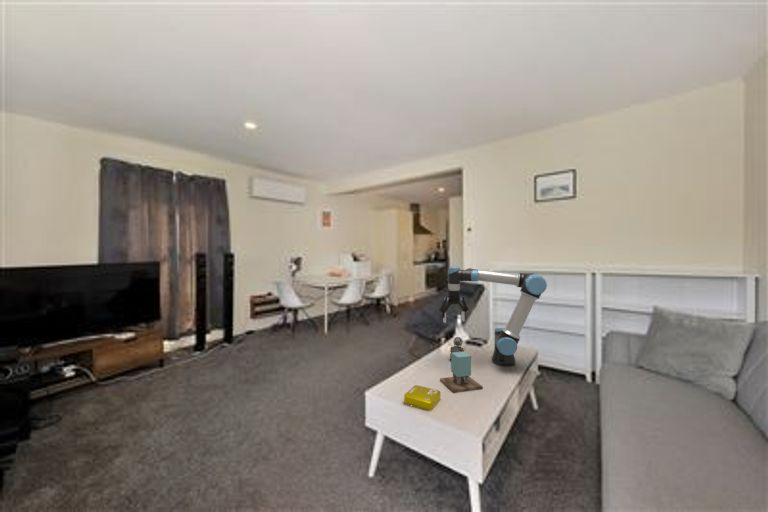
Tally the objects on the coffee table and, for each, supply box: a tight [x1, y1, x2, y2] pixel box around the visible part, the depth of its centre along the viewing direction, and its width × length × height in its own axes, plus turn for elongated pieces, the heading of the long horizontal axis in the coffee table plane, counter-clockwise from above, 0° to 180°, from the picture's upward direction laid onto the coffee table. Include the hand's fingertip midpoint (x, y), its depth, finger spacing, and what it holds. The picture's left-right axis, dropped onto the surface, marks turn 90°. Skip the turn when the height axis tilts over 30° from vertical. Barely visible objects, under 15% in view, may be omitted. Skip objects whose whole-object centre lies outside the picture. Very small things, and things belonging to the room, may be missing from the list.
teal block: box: [450, 351, 472, 377], centre depth 180 cm, size 8×8×11 cm
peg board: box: [439, 373, 483, 394], centre depth 180 cm, size 18×16×6 cm
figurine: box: [449, 336, 465, 362], centre depth 220 cm, size 9×12×15 cm
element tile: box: [403, 385, 441, 411], centre depth 162 cm, size 15×15×5 cm
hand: (453, 321), depth 211 cm, fingers open, 13 cm apart
